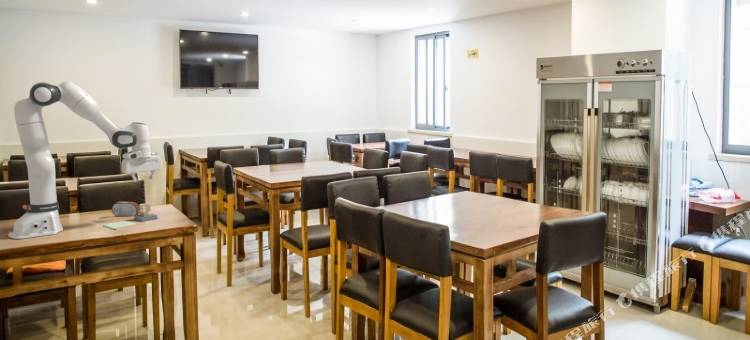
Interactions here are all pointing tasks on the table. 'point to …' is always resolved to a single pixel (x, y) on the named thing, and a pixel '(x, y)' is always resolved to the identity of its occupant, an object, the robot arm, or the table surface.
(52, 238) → the table surface
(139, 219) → the pocket holder
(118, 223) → the green board
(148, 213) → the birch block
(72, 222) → the table surface
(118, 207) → the tin
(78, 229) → the table surface
